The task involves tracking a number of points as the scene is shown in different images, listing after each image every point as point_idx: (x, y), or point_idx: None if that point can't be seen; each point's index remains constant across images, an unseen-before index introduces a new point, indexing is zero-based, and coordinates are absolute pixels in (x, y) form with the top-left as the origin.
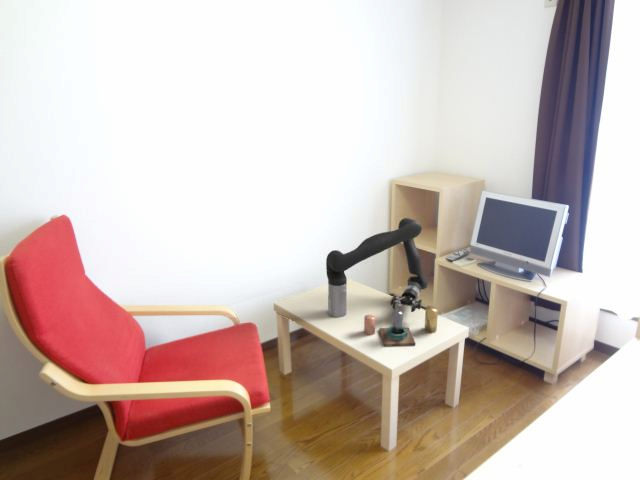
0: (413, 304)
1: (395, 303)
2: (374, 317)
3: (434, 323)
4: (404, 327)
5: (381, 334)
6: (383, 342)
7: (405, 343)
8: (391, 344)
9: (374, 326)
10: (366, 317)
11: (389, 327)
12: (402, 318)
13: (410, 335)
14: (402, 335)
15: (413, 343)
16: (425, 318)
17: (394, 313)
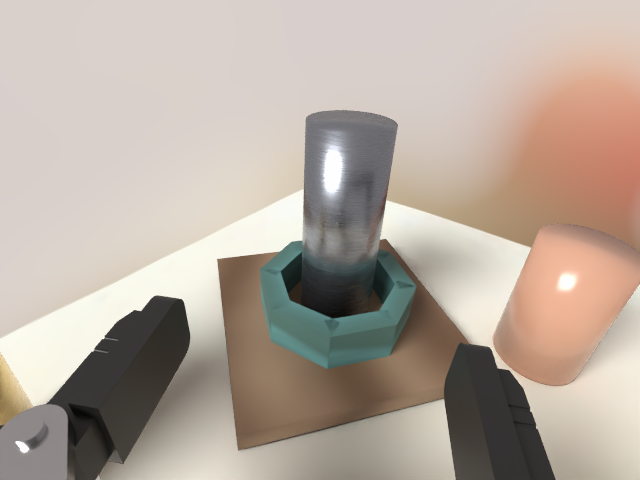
0: (72, 446)
1: (487, 404)
2: (552, 248)
3: None
4: (279, 426)
5: (435, 303)
6: (393, 251)
7: (275, 253)
8: None
9: (512, 297)
10: (609, 242)
11: (401, 302)
12: (304, 173)
13: (236, 317)
14: (295, 241)
15: (229, 260)
16: (4, 386)
17: (375, 116)
